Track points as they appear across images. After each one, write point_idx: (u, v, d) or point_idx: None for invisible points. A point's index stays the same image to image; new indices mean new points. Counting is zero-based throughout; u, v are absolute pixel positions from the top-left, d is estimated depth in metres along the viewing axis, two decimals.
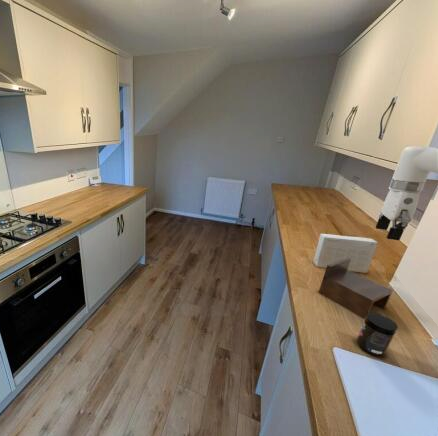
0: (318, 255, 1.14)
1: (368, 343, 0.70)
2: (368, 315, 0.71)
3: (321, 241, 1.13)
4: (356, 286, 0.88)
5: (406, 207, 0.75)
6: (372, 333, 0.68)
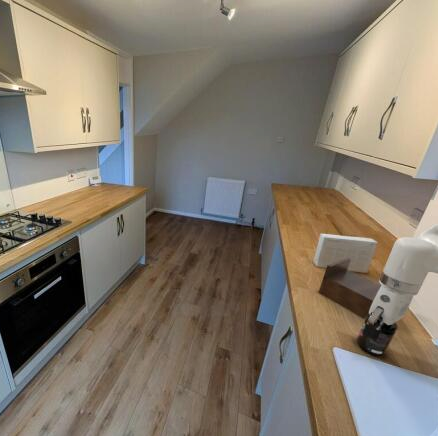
0: (318, 255, 1.14)
1: (368, 343, 0.70)
2: (368, 315, 0.71)
3: (321, 241, 1.13)
4: (356, 286, 0.88)
5: (382, 305, 0.64)
6: None
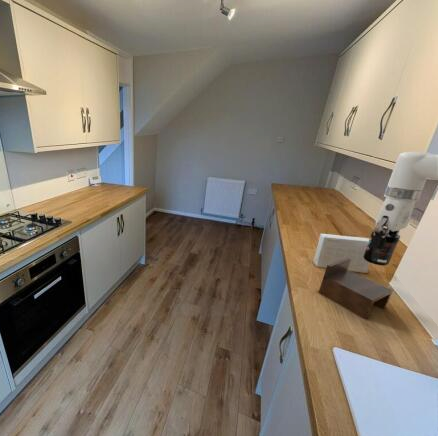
0: (318, 255, 1.14)
1: (374, 254, 0.78)
2: (374, 230, 0.80)
3: (321, 241, 1.13)
4: (356, 286, 0.88)
5: (387, 213, 0.73)
6: None
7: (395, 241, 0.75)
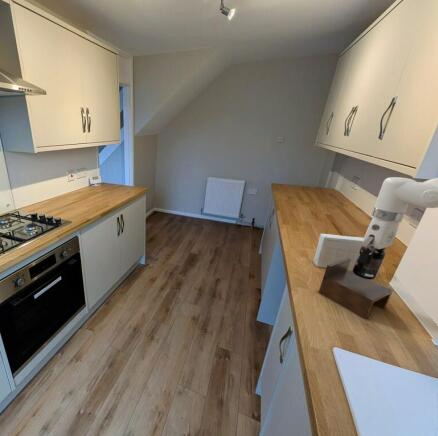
0: (318, 255, 1.14)
1: (362, 268, 0.85)
2: None
3: (321, 241, 1.13)
4: (356, 286, 0.88)
5: (373, 233, 0.80)
6: None
7: (381, 258, 0.82)
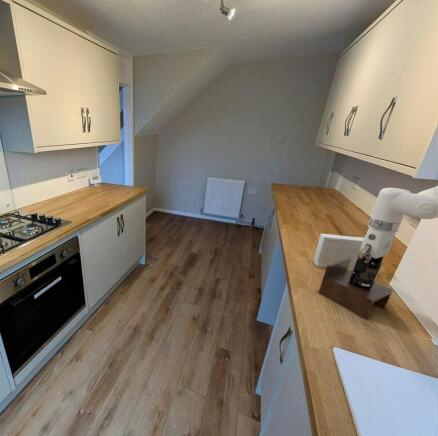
0: (318, 255, 1.14)
1: (359, 278, 0.87)
2: None
3: (321, 241, 1.13)
4: (356, 286, 0.88)
5: (370, 242, 0.81)
6: None
7: (377, 268, 0.83)
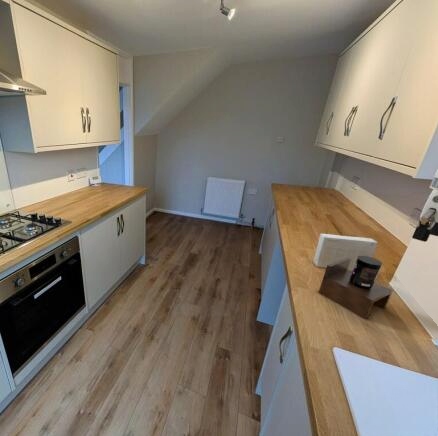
0: (318, 255, 1.14)
1: (359, 278, 0.87)
2: (359, 257, 0.88)
3: (321, 241, 1.13)
4: (356, 286, 0.88)
5: (434, 206, 0.70)
6: (361, 269, 0.85)
7: (377, 268, 0.83)
